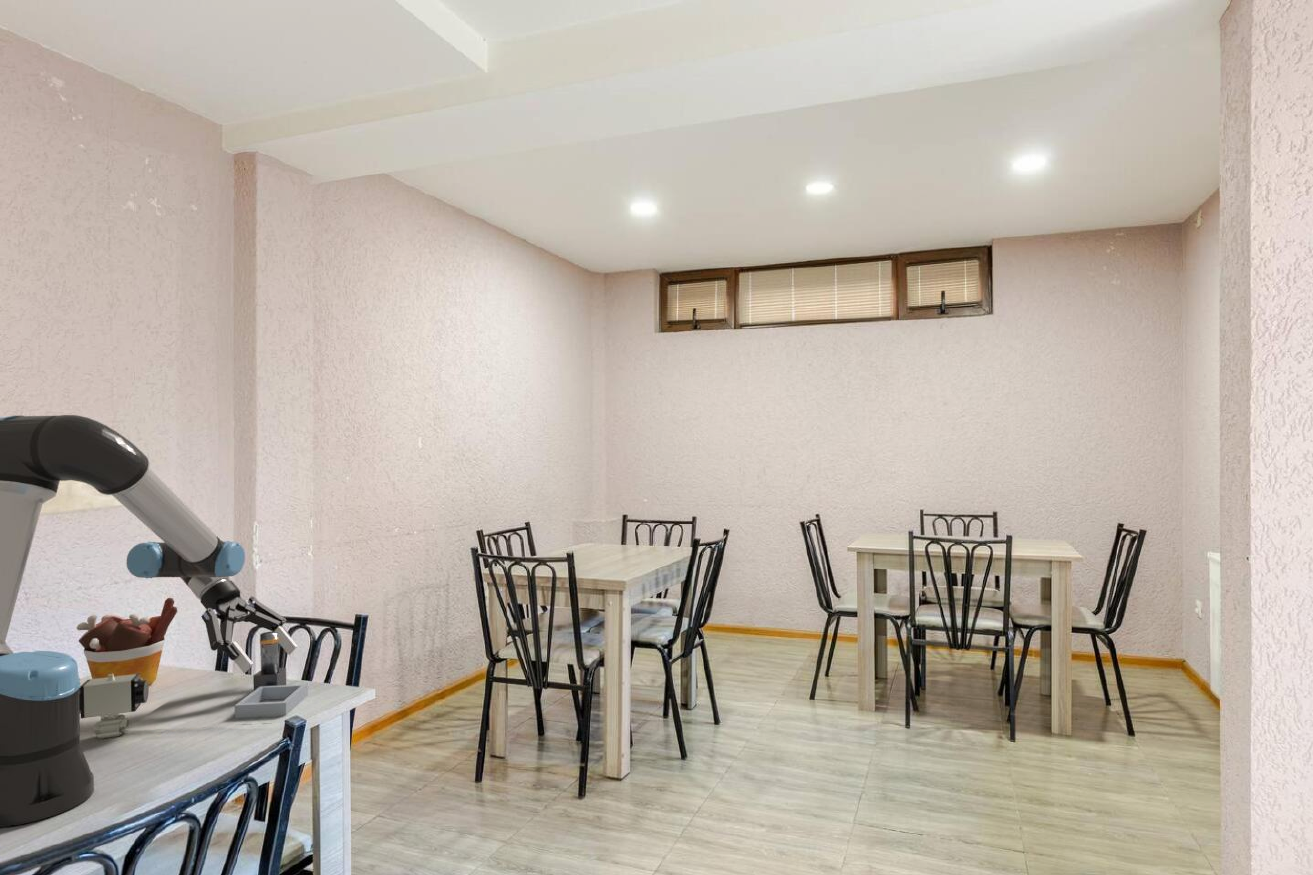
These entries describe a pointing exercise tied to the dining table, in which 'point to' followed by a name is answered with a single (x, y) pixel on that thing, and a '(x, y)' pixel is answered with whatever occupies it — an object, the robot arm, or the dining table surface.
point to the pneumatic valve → (112, 701)
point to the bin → (256, 709)
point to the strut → (269, 662)
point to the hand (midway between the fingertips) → (272, 659)
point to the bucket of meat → (126, 643)
